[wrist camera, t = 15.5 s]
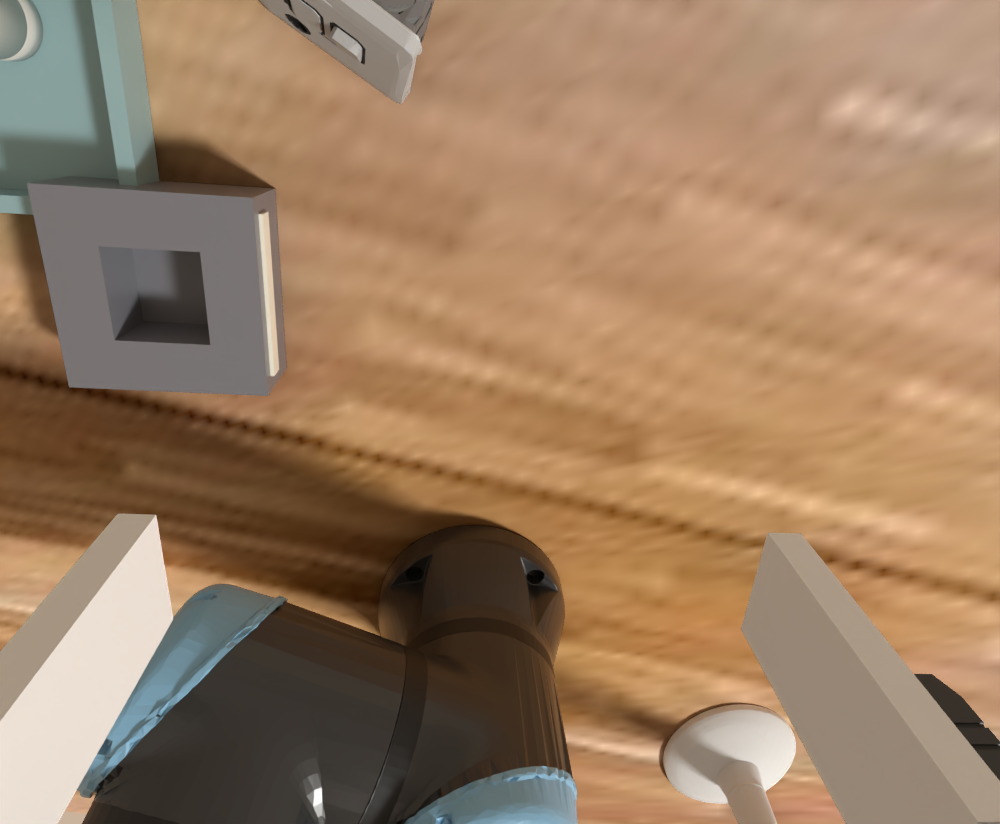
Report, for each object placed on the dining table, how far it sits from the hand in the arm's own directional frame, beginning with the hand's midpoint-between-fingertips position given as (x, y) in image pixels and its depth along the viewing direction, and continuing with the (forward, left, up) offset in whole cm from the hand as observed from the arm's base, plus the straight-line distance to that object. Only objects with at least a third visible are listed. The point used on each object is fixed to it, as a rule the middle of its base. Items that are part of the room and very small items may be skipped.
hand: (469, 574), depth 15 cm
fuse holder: (-2, +18, -33) cm, 37 cm away
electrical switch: (+14, +7, -33) cm, 37 cm away
